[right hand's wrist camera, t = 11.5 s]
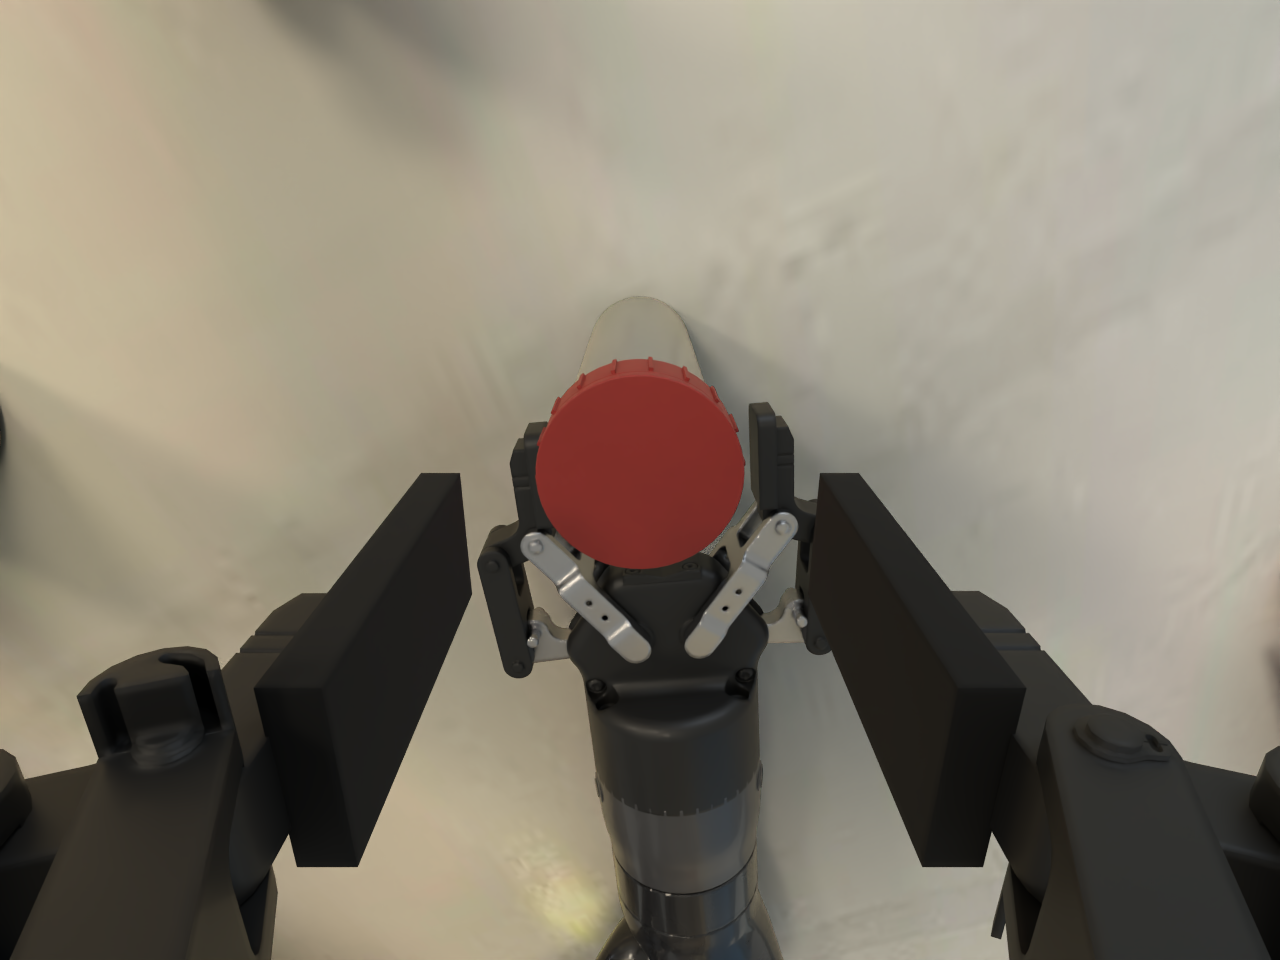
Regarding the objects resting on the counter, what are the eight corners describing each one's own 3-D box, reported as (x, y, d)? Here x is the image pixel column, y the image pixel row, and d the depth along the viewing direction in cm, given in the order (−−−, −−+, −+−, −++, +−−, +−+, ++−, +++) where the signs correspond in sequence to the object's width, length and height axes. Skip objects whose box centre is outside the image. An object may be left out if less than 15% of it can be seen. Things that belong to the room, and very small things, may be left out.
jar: (704, 371, 32) (755, 511, 18) (616, 410, 33) (597, 575, 19) (665, 279, 31) (687, 353, 17) (573, 322, 32) (518, 428, 17)
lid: (766, 497, 19) (778, 525, 18) (592, 567, 20) (589, 600, 19) (693, 322, 18) (698, 336, 16) (506, 406, 18) (493, 427, 17)
